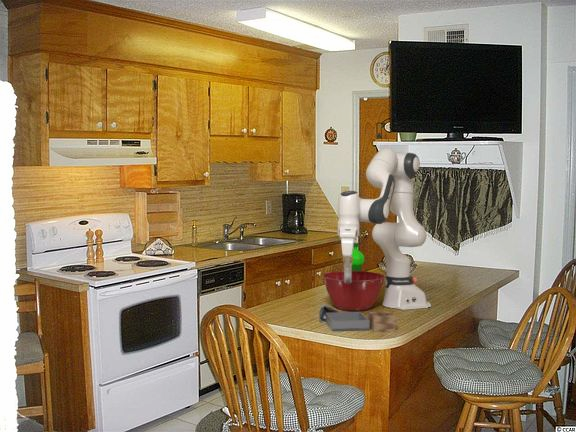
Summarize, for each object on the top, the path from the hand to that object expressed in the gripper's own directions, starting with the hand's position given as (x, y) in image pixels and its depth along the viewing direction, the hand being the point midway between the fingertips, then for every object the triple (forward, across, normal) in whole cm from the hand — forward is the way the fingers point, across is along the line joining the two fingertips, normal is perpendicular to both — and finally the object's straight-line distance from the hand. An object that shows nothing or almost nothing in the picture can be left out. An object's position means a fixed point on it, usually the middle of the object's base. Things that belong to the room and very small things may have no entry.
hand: (348, 265), depth 256 cm
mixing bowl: (+25, -34, +1) cm, 42 cm away
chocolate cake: (+26, -10, -7) cm, 28 cm away
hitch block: (+25, +2, +14) cm, 29 cm away
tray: (+25, 0, 0) cm, 25 cm away
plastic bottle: (+25, -76, 0) cm, 80 cm away
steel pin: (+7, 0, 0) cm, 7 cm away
